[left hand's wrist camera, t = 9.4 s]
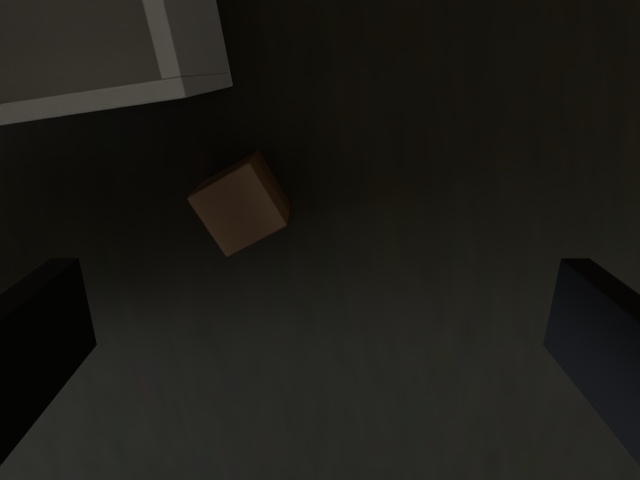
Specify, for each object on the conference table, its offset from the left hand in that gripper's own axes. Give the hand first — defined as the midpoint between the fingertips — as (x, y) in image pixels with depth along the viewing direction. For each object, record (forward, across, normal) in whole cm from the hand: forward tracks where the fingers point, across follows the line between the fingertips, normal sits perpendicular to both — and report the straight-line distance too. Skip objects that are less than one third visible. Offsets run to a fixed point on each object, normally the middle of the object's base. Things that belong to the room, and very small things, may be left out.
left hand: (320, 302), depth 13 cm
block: (+17, +5, +2) cm, 18 cm away
